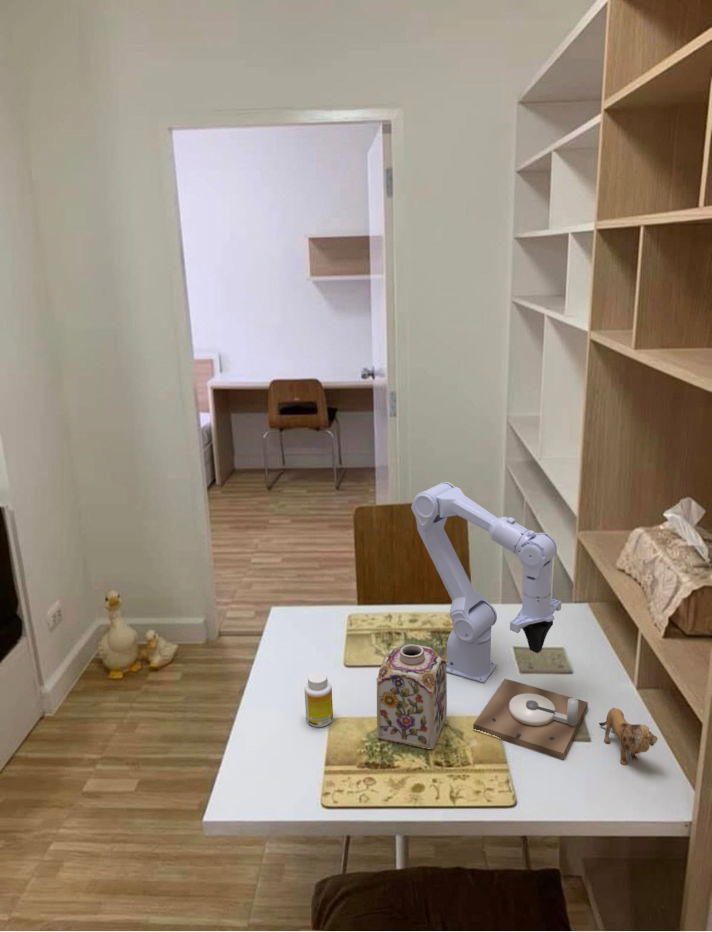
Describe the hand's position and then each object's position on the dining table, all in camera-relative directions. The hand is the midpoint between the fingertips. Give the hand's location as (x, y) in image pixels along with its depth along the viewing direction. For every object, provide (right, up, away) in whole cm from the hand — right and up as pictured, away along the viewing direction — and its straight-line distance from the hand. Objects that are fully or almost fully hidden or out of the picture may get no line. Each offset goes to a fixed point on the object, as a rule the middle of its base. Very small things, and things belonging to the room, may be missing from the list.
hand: (535, 650), depth 152 cm
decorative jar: (-26, -14, -7) cm, 31 cm away
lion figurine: (+13, -15, -15) cm, 25 cm away
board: (-2, -13, -5) cm, 14 cm away
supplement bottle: (-45, -14, -3) cm, 48 cm away
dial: (0, -11, -7) cm, 13 cm away
